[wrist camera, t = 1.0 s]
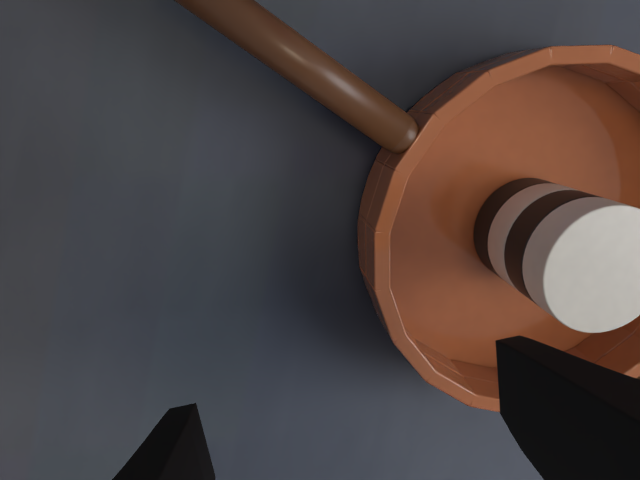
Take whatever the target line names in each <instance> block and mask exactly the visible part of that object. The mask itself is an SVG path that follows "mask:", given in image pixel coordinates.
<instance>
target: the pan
mask: <svg viewBox="0 0 640 480" xmlns="http://www.w3.org/2000/svg"><path fill="white" fill-rule="evenodd" d="M407 114H409V115H410V116H412V117H413V118H414V119H415V120H416V122H417V123H418V126H419V132H418V134H417V136H416V138H415V140H414V142H413V143H412V144H411V145H410V147H409V148H408V149H407V150H406V151H405V152H403V153H402V154H394V153H391V152H389V151H387V150H386V149H384V148H383V147H382V148H381V150H380V151H379V153H378V155H377V157H376V159H375V162H374V164H373V166H372V168H371V171H370V173H369V175H368V178H367V181H366V185H365V188H364V192H363V195H362V198H361V204H360V210H359V215H358V234H357V245H358V254H359V268H360V270H361V273H362V276H363V279H364V283H365V286H366V288H367V291H368V293H369V296H370V298H371V301H372V304H373V307H374V310H375V312H376V314H377V315H378V317H379V319H380V321H381V323H382V324H383V326H384V328H385V330H386V331H387V333H388V335H389V337H390V338H391V340H392V342H393V344H394V345H395V346H396V347H397V348H398V350H399V351H400V352H401V353H402V354H403V356H404V357H405V358H406V359H407V360H408V362H409V363H410V364H411V365H412V366H413V367H414V369H415V370H416V371H417V372H418V373H419V375H420V376H421V377H422V378H423V379H424V380H425V381H426V382H427V383H429V384H431V385H432V386H434V387H436V388H438V389H439V390H441V391H443V392H444V393H446V394H448V395H450V396H451V397H453V398H455V399H457V400H458V401H460V402H462V403H464V404H465V405H467V406H470V407H475V408H480V409H485V410H490V411H496V412H500V403H499V388H498V372H497V357H496V342H495V340H500V339H504V338H509V337H514V336H519V335H520V336H524V337H527V338H530V339H533V340H536V341H538V342H541V343H544V344H546V345H549V346H551V347H554V348H556V349H559V350H561V351H564V352H566V353H569V354H572V355H574V356H577V357H579V358H582V359H584V360H587V361H589V362H592V363H595V364H597V365H600V366H603V367H605V368H608V369H611V370H614V371H616V372H619V373H622V374H625V375H628V376H631V377H634V378H638V377H639V376H640V315H639V316H638V317H637V318H635V319H634V320H633V321H631V322H629V323H627V324H626V325H624V326H622V327H619V328H617V329H614V330H611V331H606V332H601V333H587V332H581V331H576V330H574V329H571V328H569V327H567V326H565V325H563V324H562V323H561V322H559V321H558V320H557V319H555V318H554V317H553V316H551V315H550V314H549V313H547V312H546V311H545V310H543V309H542V308H541V307H539V306H538V305H537V304H535V303H534V302H533V301H531V300H530V299H528V298H527V297H526V296H524V295H523V294H522V293H520V292H519V291H518V290H516V289H515V288H514V287H512V286H511V285H510V284H508V283H507V282H506V281H504V280H503V279H502V278H500V277H499V276H498V275H496V274H495V273H494V272H492V271H491V270H490V269H488V268H487V267H486V266H485V265H484V264H483V262H482V261H481V260H480V258H479V256H478V254H477V252H476V249H475V245H474V225H475V221H476V218H477V215H478V213H479V211H480V209H481V207H482V205H483V204H484V202H485V201H486V200H487V199H488V197H489V196H490V195H491V194H492V193H493V192H494V191H496V190H497V189H498V188H500V187H501V186H503V185H505V184H507V183H509V182H511V181H514V180H517V179H522V178H538V179H542V180H546V181H549V182H552V183H556V184H559V185H562V186H566V187H569V188H573V189H576V190H579V191H583V192H586V193H589V194H593V195H596V196H599V197H603V198H606V199H609V200H613V201H616V202H619V203H623V204H626V205H629V206H633V207H636V208H639V209H640V55H639V54H636V53H634V52H631V51H628V50H625V49H623V48H620V47H617V46H614V45H578V46H549V47H543V48H536V49H531V50H523V51H517V52H511V53H507V54H504V55H502V56H499V57H496V58H494V59H491V60H487V61H484V62H481V63H479V64H477V65H474V66H472V67H470V68H467V69H465V70H462V71H459V72H457V73H456V74H454V75H452V76H451V77H450V78H449V79H447V80H445V81H444V82H442V83H440V84H439V85H438V86H437V87H435V88H434V89H433V90H431V91H430V92H429V93H428V94H426V95H425V96H424V97H422V98H421V99H420V100H419V101H418V102H417V103H416V104H415V105H414V106H413V107H412V108H411V109H410V110H409V111H408V112H407Z"/></svg>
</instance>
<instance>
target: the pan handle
mask: <svg viewBox="0 0 640 480" xmlns="http://www.w3.org/2000/svg"><path fill="white" fill-rule="evenodd" d="M174 1H176V2H177V3H179V4H180V5H181V6H183V7H184V8H186V9H187V10H189V11H190V12H191V13H193V14H194V15H196V16H197V17H198V18H200V19H201V20H203V21H204V22H206V23H207V24H208V25H210V26H211V27H213V28H214V29H216V30H217V31H218V32H220V33H221V34H223V35H224V36H225V37H227V38H228V39H230V40H231V41H233V42H234V43H235V44H237V45H238V46H240V47H241V48H242V49H244V50H245V51H247V52H248V53H250V54H251V55H252V56H254V57H255V58H257V59H258V60H260V61H261V62H262V63H264V64H265V65H267V66H268V67H269V68H271V69H272V70H274V71H275V72H277V73H278V74H279V75H281V76H282V77H284V78H285V79H287V80H288V81H289V82H291V83H292V84H294V85H295V86H296V87H298V88H299V89H301V90H302V91H304V92H305V93H306V94H308V95H309V96H311V97H312V98H313V99H315V100H316V101H318V102H319V103H321V104H322V105H323V106H325V107H326V108H328V109H329V110H331V111H332V112H333V113H335V114H336V115H338V116H339V117H340V118H342V119H343V120H345V121H346V122H348V123H349V124H350V125H352V126H353V127H355V128H356V129H357V130H359V131H360V132H362V133H363V134H365V135H366V136H367V137H369V138H370V139H372V140H373V141H375V142H376V143H377V144H379V145H380V146H382V147H383V148H384V149H386V150H387V151H389V152H391V153H394V154H402V153H403V152H405V151H406V150H407V149H408V148H409V147H410V145H411V144H412V143H413V142H414V140H415V138H416V136H417V134H418V132H419V126H418V123H417V122H416V120H415V119H414V118H413V117H412V116H410V115H409V114H407V113H406V112H405V111H403V110H402V109H401V108H399V107H398V106H397V105H395V104H394V103H393V102H391V101H390V100H388V99H387V98H386V97H384V96H383V95H382V94H380V93H379V92H378V91H376V90H375V89H374V88H372V87H371V86H370V85H368V84H367V83H365V82H364V81H363V80H361V79H360V78H359V77H357V76H356V75H355V74H353V73H352V72H351V71H349V70H348V69H346V68H345V67H344V66H342V65H341V64H340V63H338V62H337V61H336V60H334V59H333V58H332V57H330V56H329V55H327V54H326V53H325V52H323V51H322V50H321V49H319V48H318V47H317V46H315V45H314V44H313V43H311V42H310V41H308V40H307V39H306V38H304V37H303V36H302V35H300V34H299V33H298V32H296V31H295V30H294V29H292V28H291V27H289V26H288V25H287V24H285V23H284V22H283V21H281V20H280V19H279V18H277V17H276V16H275V15H273V14H272V13H270V12H269V11H268V10H266V9H265V8H264V7H262V6H261V5H260V4H258V3H257V2H256V1H254V0H174Z"/></svg>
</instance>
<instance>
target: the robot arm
mask: <svg viewBox="0 0 640 480" xmlns="http://www.w3.org/2000/svg"><path fill="white" fill-rule="evenodd" d="M495 342H496V357H497V372H498V388H499V403H500V414H501V415H502V417H503V419H504V421H505V423H506V424H507V426H508V428H509V430H510V432H511V433H512V435H513V437H514V438H515V440H516V442H517V443H518V445H519V447H520V448H521V450H522V451H523V453H524V454H525V455H526V457H527V458H528V459H529V461H530V462H531V463H532V464H533V466H534V467H535V468H536V470H537V471H538V472H539V474H540V475H541V476H542V478H543V479H544V480H640V379H637V378H634V377H631V376H628V375H625V374H622V373H619V372H616V371H614V370H611V369H608V368H605V367H603V366H600V365H597V364H595V363H592V362H589V361H587V360H584V359H582V358H579V357H577V356H574V355H572V354H569V353H566V352H564V351H561V350H559V349H556V348H554V347H551V346H549V345H546V344H544V343H541V342H538V341H536V340H533V339H530V338H527V337H524V336H520V335H519V336H514V337H509V338H504V339H500V340H495ZM112 480H215V473H214V469H213V466H212V462H211V458H210V454H209V450H208V447H207V443H206V439H205V435H204V432H203V428H202V424H201V420H200V416H199V413H198V409H197V405H196V403H194V404H190V405H185V406H180V407H175V408H171V409H169V410H168V411H167V412H166V414H165V415H164V416H163V417H162V419H161V420H160V421H159V422H158V424H157V425H156V426H155V428H154V429H153V430H152V432H151V433H150V434H149V435H148V437H147V438H146V439H145V441H144V442H143V443H142V444H141V446H140V447H139V448H138V449H137V451H136V452H135V453H134V454H133V456H132V457H131V458H130V459H129V461H128V462H127V463H126V464H125V466H124V467H123V468H122V469H121V470H120V471H119V473H118V474H117V475H116V476H115V477H114V478H113V479H112Z"/></svg>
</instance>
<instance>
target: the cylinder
mask: <svg viewBox="0 0 640 480" xmlns="http://www.w3.org/2000/svg"><path fill="white" fill-rule="evenodd" d="M474 245H475V249H476V252H477V254H478V256H479V258H480V260H481V261H482V262H483V264H484V265H485V266H486V267H487V268H488V269H490V270H491V271H492V272H494V273H495V274H496V275H498V276H499V277H500V278H502V279H503V280H504V281H506V282H507V283H508V284H510V285H511V286H512V287H514V288H515V289H516V290H518V291H519V292H520V293H522V294H523V295H524V296H526V297H527V298H528V299H530V300H531V301H533V302H534V303H535V304H537V305H538V306H539V307H541V308H542V309H543V310H545V311H546V312H547V313H549V314H550V315H551V316H553V317H554V318H555V319H557V320H558V321H559V322H561V323H562V324H563V325H565V326H567V327H569V328H571V329H574V330H576V331H581V332H587V333H601V332H606V331H611V330H614V329H617V328H619V327H622V326H624V325H626V324H627V323H629V322H631V321H633V320H634V319H635V318H637V317H638V316H639V315H640V209H639V208H636V207H633V206H629V205H626V204H623V203H619V202H616V201H613V200H609V199H606V198H603V197H599V196H596V195H593V194H589V193H586V192H583V191H579V190H576V189H573V188H569V187H566V186H562V185H559V184H556V183H552V182H549V181H546V180H542V179H538V178H522V179H517V180H514V181H511V182H509V183H507V184H505V185H503V186H501V187H500V188H498V189H497V190H496V191H494V192H493V193H492V194H491V195H490V196H489V197H488V199H487V200H486V201H485V202H484V204H483V205H482V207H481V209H480V211H479V213H478V215H477V218H476V221H475V225H474Z"/></svg>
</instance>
